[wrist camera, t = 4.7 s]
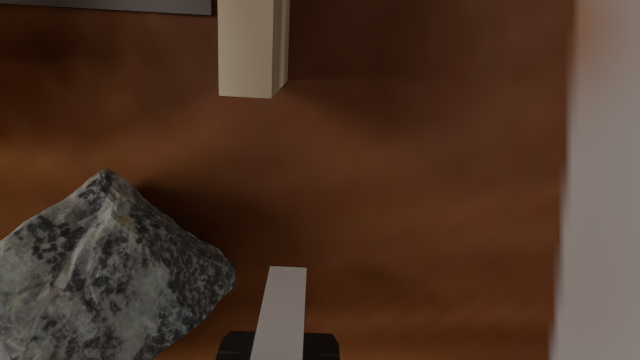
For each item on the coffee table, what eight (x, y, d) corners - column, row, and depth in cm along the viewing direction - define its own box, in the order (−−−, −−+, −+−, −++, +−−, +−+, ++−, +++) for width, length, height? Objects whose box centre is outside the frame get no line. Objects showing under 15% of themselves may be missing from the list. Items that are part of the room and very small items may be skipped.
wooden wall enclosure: (-69, 405, 24) (-215, 541, 18) (-251, -334, 15) (-696, -631, 9) (277, 418, 25) (261, 557, 18) (299, -296, 16) (284, -553, 9)
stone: (86, 542, 13) (-60, 250, 10) (-5, 409, 20) (-112, 205, 17) (296, 349, 20) (245, 136, 17) (176, 296, 27) (123, 135, 24)
